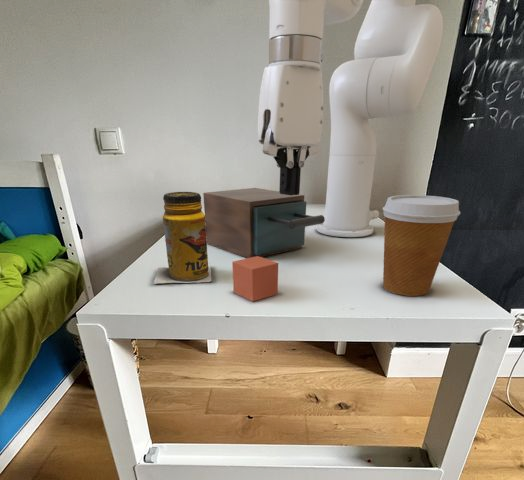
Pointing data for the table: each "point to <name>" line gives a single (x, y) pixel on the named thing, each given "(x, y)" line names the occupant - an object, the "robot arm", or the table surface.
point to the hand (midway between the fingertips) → (289, 194)
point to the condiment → (184, 240)
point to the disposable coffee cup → (415, 240)
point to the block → (255, 278)
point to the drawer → (281, 226)
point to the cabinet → (238, 218)
